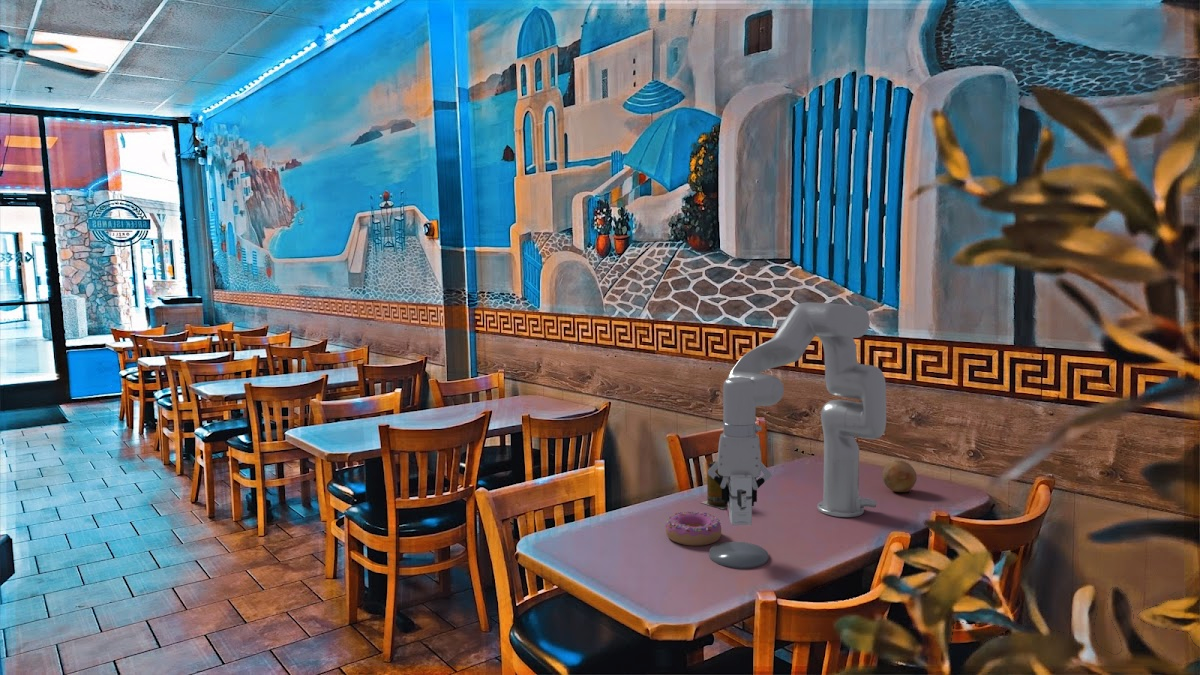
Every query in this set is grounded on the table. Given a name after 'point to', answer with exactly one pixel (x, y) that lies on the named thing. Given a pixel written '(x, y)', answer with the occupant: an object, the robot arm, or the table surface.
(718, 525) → the donut
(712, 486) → the condiment
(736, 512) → the ink box
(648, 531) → the table surface
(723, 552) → the grey oval disc
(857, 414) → the robot arm
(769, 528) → the table surface
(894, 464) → the onion
